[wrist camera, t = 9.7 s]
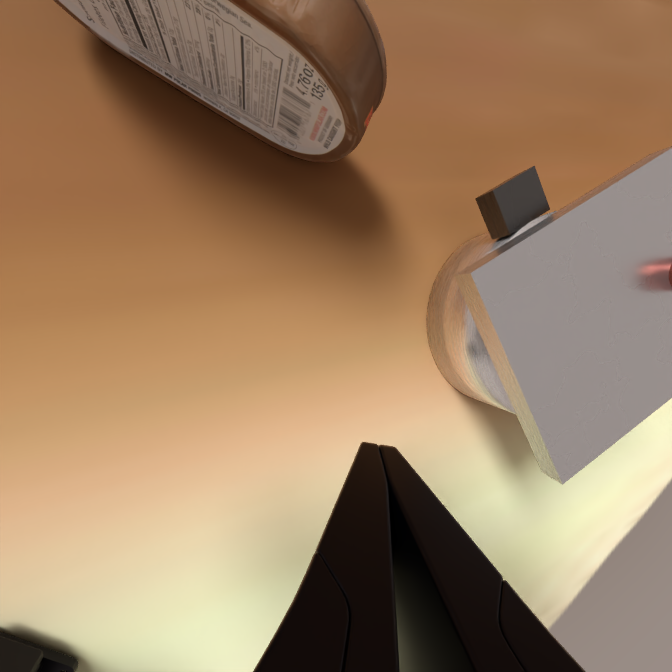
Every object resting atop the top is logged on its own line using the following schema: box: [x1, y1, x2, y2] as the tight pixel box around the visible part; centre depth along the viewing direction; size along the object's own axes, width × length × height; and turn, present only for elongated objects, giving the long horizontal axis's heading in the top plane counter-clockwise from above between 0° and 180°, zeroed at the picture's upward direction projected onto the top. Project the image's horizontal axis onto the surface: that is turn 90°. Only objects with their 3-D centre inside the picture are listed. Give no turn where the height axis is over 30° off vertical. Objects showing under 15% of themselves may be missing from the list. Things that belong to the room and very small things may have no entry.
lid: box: [454, 146, 672, 484], centre depth 15 cm, size 13×12×3 cm
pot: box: [427, 166, 557, 414], centre depth 20 cm, size 12×17×5 cm
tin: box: [54, 0, 387, 162], centre depth 12 cm, size 15×3×8 cm, turn 66°
